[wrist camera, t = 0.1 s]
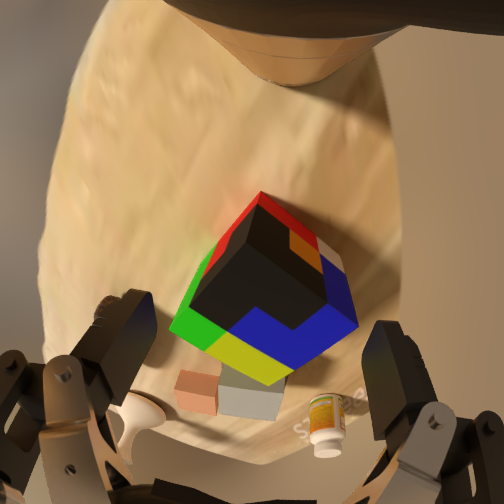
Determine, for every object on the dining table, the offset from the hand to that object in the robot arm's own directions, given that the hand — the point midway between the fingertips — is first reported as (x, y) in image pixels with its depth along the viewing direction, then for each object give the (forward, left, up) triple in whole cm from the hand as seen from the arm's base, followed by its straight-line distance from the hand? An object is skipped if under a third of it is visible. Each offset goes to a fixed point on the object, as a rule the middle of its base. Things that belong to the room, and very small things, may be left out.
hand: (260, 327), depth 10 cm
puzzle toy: (+8, 0, -18) cm, 19 cm away
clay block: (+32, -8, -17) cm, 37 cm away
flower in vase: (+45, -22, -17) cm, 53 cm away
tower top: (+23, 0, -14) cm, 26 cm away
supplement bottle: (+33, +12, -17) cm, 39 cm away
